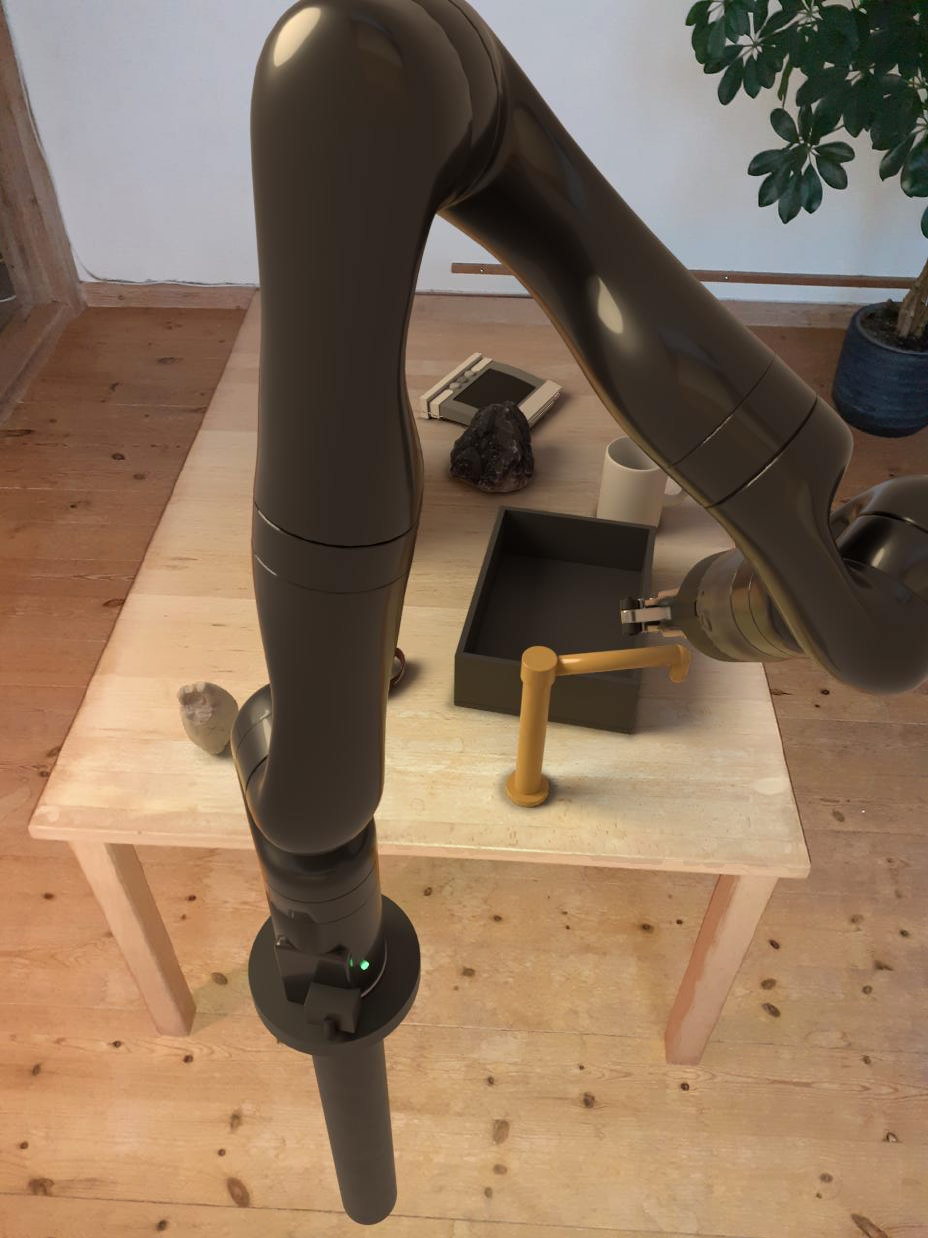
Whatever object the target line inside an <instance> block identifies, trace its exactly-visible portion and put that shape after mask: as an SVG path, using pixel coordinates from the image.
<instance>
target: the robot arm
mask: <svg viewBox="0 0 928 1238" xmlns="http://www.w3.org/2000/svg"><path fill="white" fill-rule="evenodd" d="M249 110H250V111H249V112H250V113H249V133H250V134H249V139H250V142H249V143H250V161H251V162H250V164H251V166H250V167H251V180H252V194H253V210H254V225H255V239H256V252H257V265H258V266H257V267H258V268H257V269H258V284H259V299H260V301H259V302H260V303H259V304H260V344H259V345H260V346H259V347H260V348H259V365H258V366H259V367H258V394H257V395H258V396H257V432H256V435H257V437H256V439H257V441H256V457H255V467H254V468H255V469H254V477H253V487H252V510H251V511H252V513H251V535H250V536H251V537H250V561H251V573H252V583H253V591H254V600H255V606H256V613H257V621H258V627H259V632H260V639H261V644H262V648H263V654H264V659H265V664H266V669H267V676H268V680H269V682H268V683H267V684H264V685H263V686H261V687H260V688H259V689H258V690H256V691H255V692H253V693H252V694H251V695H250V696H249V697H248V698H247V699H246V701H244V703H243V704H242V706H241V707H240V709H239V712H238V714H237V716H236V718H235V720H234V723H233V726H232V731H231V735H230V750H231V755H232V759H233V764H234V768H235V772H236V775H237V780H238V784H239V789H240V792H241V793H240V794H241V796H242V800H243V801H242V802H243V806H244V810H245V815H246V818H247V823H248V827H249V830H250V834H251V838H252V843H253V845H254V849H255V850H254V851H255V853H256V857H257V860H258V863H259V868H260V873H261V877H262V881H263V886H264V890H265V895H266V899H267V904H268V909H269V913H270V916H271V918H272V923H273V928H274V932H275V937H276V941H275V944H274V950H275V954H276V958H277V963H278V967H279V972H280V976H281V980H282V985H283V989H284V993H285V998H286V1000H287V1001H290V1002H294V1003H299V1004H304V1009H305V1014H306V1019H307V1023H310V1024H314V1025H319V1026H323V1027H324V1034H325V1037H326V1039H327V1040H329V1041H335V1040H336V1039H337V1038H338V1037H339V1035H340V1033H341V1031H347V1032H351V1033H354V1032H355V1029H356V1026H357V1022H358V1019H359V1015H360V1012H361V1009H362V1000H363V999H364V998H366V997H367V996H368V995H369V994H370V993H371V992H372V991H373V990H374V989H375V988H376V987H377V985H378V984H379V982H380V981H381V979H382V977H383V975H384V972H385V969H386V964H387V947H386V941H385V935H384V923H383V911H382V898H381V894H382V886H381V876H380V875H381V873H380V860H379V859H380V857H379V844H378V842H379V841H378V833H377V824H376V819H375V814H376V812H377V810H378V808H379V806H380V804H381V801H382V798H383V794H384V789H385V779H386V734H387V732H386V730H387V729H386V728H387V712H388V711H387V710H388V700H389V699H388V698H389V690H390V689H389V685H390V680H391V679H392V673H393V668H394V664H395V659H396V657H395V653H396V648H398V641H399V636H400V630H401V624H402V617H403V611H404V605H405V600H406V594H407V588H408V585H409V579H410V574H411V570H412V566H413V561H414V556H415V551H416V544H417V538H418V534H419V533H418V532H419V527H420V521H421V514H422V510H423V503H424V493H425V476H426V475H425V462H424V461H425V460H424V456H423V455H424V454H423V450H422V444H421V438H420V435H419V430H418V427H417V423H416V419H415V415H414V411H413V408H412V404H411V400H410V396H409V389H408V384H407V383H408V382H407V373H406V372H407V371H406V361H407V345H408V336H409V328H410V322H411V317H412V311H413V306H414V302H415V295H416V291H417V285H418V280H419V274H420V270H421V266H422V261H423V257H424V252H425V249H426V246H427V242H428V238H429V235H430V232H431V228H432V225H433V222H434V219H435V217H436V215H437V216H439V217H440V218H442V219H443V220H445V221H446V222H447V223H449V224H450V225H451V226H453V227H455V228H456V229H457V230H459V231H460V232H461V233H463V234H464V235H466V236H467V237H468V238H469V239H471V240H472V241H474V242H475V243H477V244H478V245H479V246H481V248H483V249H484V250H485V251H487V252H488V254H490V255H491V256H492V257H493V258H495V259H496V260H497V261H498V263H500V264H501V265H502V266H503V267H504V268H505V269H506V270H507V271H508V272H509V273H510V274H511V275H512V276H513V277H514V278H515V280H517V282H519V284H521V285H522V287H523V288H524V289H525V291H527V292H528V294H529V295H530V296H531V298H532V299H533V300H534V301H535V303H536V304H537V305H538V307H539V308H540V309H541V310H542V311H543V313H544V314H545V316H546V317H547V318H548V320H549V321H550V323H551V324H552V326H553V328H554V329H555V331H556V332H557V333H558V334H559V336H560V337H561V339H562V341H563V342H564V345H565V346H566V347H567V348H568V351H569V352H570V354H571V355H572V357H573V359H574V360H575V362H576V364H577V366H578V368H579V369H580V370H581V372H582V373H583V376H584V377H585V378H586V380H587V382H588V384H589V385H590V387H591V388H592V389H593V391H594V392H595V394H596V396H597V397H598V399H599V400H600V402H601V403H602V405H603V406H604V408H605V409H606V410H607V412H608V413H609V414H610V415H611V417H612V418H613V419H614V421H615V422H616V424H617V425H618V426H619V427H620V428H621V429H622V431H623V432H624V433H625V434H626V436H629V437H630V438H631V440H632V441H633V442H634V443H635V444H636V445H637V446H638V447H639V448H640V449H641V450H642V451H643V452H644V453H645V454H646V455H647V456H648V457H649V458H650V459H651V460H652V461H653V462H654V463H655V464H656V465H657V466H658V467H660V468H661V469H662V470H663V471H664V472H665V473H666V474H667V475H668V478H670V479H671V480H672V481H674V482H675V483H676V484H677V485H678V486H679V487H680V488H681V490H682V489H683V490H684V491H685V492H687V493H688V494H689V495H688V496H689V497H691V498H692V499H693V500H694V501H695V502H696V503H697V504H698V505H699V506H701V507H703V509H704V510H705V511H706V512H707V513H708V514H709V516H711V517H712V518H713V519H714V520H715V521H716V522H717V523H719V525H720V526H721V527H722V528H723V529H724V530H725V532H726V533H727V534H728V536H729V537H730V538H731V540H732V541H733V542H734V544H735V545H736V547H734V548H730V549H726V550H723V551H720V552H719V551H718V552H716V553H713V554H710V555H708V556H705V557H704V558H703V559H701V560H700V561H698V562H697V563H696V564H695V565H694V566H693V567H692V568H691V569H689V571H688V572H687V574H686V575H685V577H684V578H683V580H682V582H681V584H679V586H678V587H677V588H673V589H667V590H666V589H665V590H661V591H659V592H658V594H657V595H658V596H657V597H649V600H645V603H644V599H632V597H628V598H625V600H620V609H621V620H622V630H623V634H628V636H634V635H639V633H643V632H646V633H651V632H652V634H659V633H661V635H662V636H663V638H673V637H683V638H684V640H688V642H689V643H690V645H692V647H694V648H695V649H696V651H698V652H700V653H701V654H703V655H705V656H706V657H708V658H710V659H713V660H715V661H719V662H724V663H763V664H764V663H770V664H771V663H781V662H786V661H791V660H795V659H797V660H800V659H801V660H806V659H807V660H810V661H811V662H812V663H813V664H814V665H815V666H816V667H817V668H818V669H819V670H820V671H821V672H823V673H824V674H825V675H826V676H828V677H829V678H831V679H832V680H833V681H835V682H836V683H838V684H839V685H841V686H843V687H845V688H847V689H849V690H852V691H854V692H857V693H860V694H864V695H868V696H873V697H897V696H901V695H906V694H908V693H911V692H912V691H914V690H916V689H918V688H919V687H921V685H922V684H923V683H924V682H926V681H927V680H928V474H910V475H909V474H908V475H903V476H898V477H893V478H890V479H888V480H885V481H882V482H880V483H877V484H875V485H873V486H871V487H870V488H868V489H866V490H864V491H862V492H861V493H859V494H857V495H856V496H854V497H853V498H852V499H850V500H848V501H847V502H845V503H844V504H842V505H841V506H839V507H838V508H836V509H834V510H833V511H832V506H833V503H834V500H835V497H836V494H837V491H838V489H839V488H840V487H839V486H840V484H841V483H842V481H843V479H844V476H845V474H846V472H847V470H848V467H849V464H850V462H851V459H852V456H853V452H854V445H855V444H854V437H853V433H852V431H851V429H850V427H849V426H848V424H847V423H846V422H845V420H844V419H843V418H842V417H841V416H840V414H838V413H837V411H836V410H835V409H834V408H833V407H832V406H831V405H830V404H829V403H827V401H826V400H824V398H822V397H821V396H820V395H819V394H817V392H816V391H815V390H814V389H813V388H812V387H811V386H810V385H809V384H808V383H807V382H806V381H804V379H803V378H801V377H800V375H798V374H797V373H796V372H795V371H794V370H793V369H792V368H791V366H789V365H788V364H787V363H786V362H785V361H784V360H783V359H782V358H781V357H780V356H779V355H777V353H775V352H774V350H772V349H771V348H770V347H769V346H768V345H767V344H766V343H765V342H764V341H762V339H761V338H759V337H758V336H757V335H756V334H755V333H754V332H753V331H752V330H751V329H749V327H747V326H746V324H744V323H743V322H742V320H740V319H739V318H738V317H737V316H736V315H735V314H734V313H733V312H731V310H730V309H728V307H727V306H726V305H724V304H723V303H722V302H721V301H720V300H719V299H718V298H717V297H716V296H715V295H714V294H713V293H712V291H710V290H709V289H708V288H707V287H706V286H705V285H704V284H703V283H702V282H701V281H700V280H699V279H698V278H697V277H696V276H695V275H694V274H693V273H692V272H691V270H689V269H688V268H687V267H686V266H685V265H684V263H683V262H682V261H681V260H679V258H677V256H676V255H675V254H674V253H673V252H672V251H671V250H670V249H669V248H668V247H667V246H666V245H665V243H664V242H662V241H661V240H660V238H659V237H658V236H657V235H656V234H655V233H654V232H653V231H652V230H651V229H650V228H649V226H648V225H647V224H646V223H645V222H644V221H643V220H642V218H641V217H640V216H639V215H638V214H637V213H636V212H635V211H634V210H633V208H632V207H631V206H630V205H629V203H628V202H626V200H625V199H624V197H622V196H621V194H620V193H619V192H618V191H617V190H616V189H615V188H614V187H613V185H612V184H611V183H610V182H609V181H608V179H607V178H606V176H604V174H603V173H602V172H601V171H600V170H599V169H598V167H597V166H596V165H595V164H594V162H593V161H592V160H591V159H590V158H589V156H588V155H587V154H586V153H585V151H584V150H583V148H582V147H581V146H580V145H579V143H578V142H577V141H576V140H575V138H574V137H573V136H572V135H571V134H570V133H569V131H568V130H567V128H566V127H565V126H564V125H563V123H562V122H561V121H560V119H559V117H557V115H556V114H555V112H554V111H553V110H552V108H551V107H550V106H549V104H548V103H547V101H546V100H545V99H544V97H543V96H542V94H541V93H540V91H539V90H538V89H537V87H536V86H535V85H534V84H533V82H532V81H531V79H530V78H529V77H528V75H527V74H526V73H525V71H524V70H523V68H522V66H520V65H519V63H518V62H517V60H516V59H515V58H514V56H513V55H512V54H511V52H510V51H509V50H508V49H507V47H506V46H505V45H504V43H503V42H502V41H501V40H500V38H499V37H498V36H497V34H496V33H495V32H494V30H493V29H492V27H490V26H489V24H488V23H487V22H486V20H485V19H484V18H483V17H482V16H481V15H480V14H479V12H478V11H477V10H476V9H475V8H474V7H473V6H472V5H471V4H470V3H469V2H468V1H467V0H298V1H296V2H295V3H293V5H291V6H290V7H289V8H288V9H286V10H285V12H284V13H282V15H281V16H280V17H279V18H278V19H277V21H276V22H275V25H273V27H272V29H271V30H270V32H269V33H268V35H267V37H266V38H265V40H264V43H263V46H262V49H261V51H260V53H259V55H258V58H257V62H256V65H255V71H254V76H253V83H252V90H251V97H250V109H249Z"/></svg>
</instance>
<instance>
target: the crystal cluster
mask: <svg viewBox="0 0 928 1238" xmlns="http://www.w3.org/2000/svg"><path fill="white" fill-rule="evenodd" d="M531 443H532V436H531V434H530V429H529V423H528V421H527V418H526V416H525V415H524V413H523V412H522V411H521V410H520V409H519V407H518V406H517V405H516V404H515V403H514V402H510V401H506V402H504V403H503V404H502V405H501V404H491V405H490V406H488V407H483V408H480V409H479V410H478V411H477V412H476V413H475V415H474V416H473V418H472V420H471V422H470V425H468V427H467V428H466V429H465V430H464V431H463V432H462V434H461V436H460V437H458V438H457V439H456V440H454V443H453V446H452V449H451V450H450V454H449V457H450V460H449V465H448V469H449V473H450V476H451V477H452V478H454V479H458V480H460V481H462V482H465V483H466V484H467V485H470V486H473V487H475V488H477V489H480V490H481V491H483V492H487V493H493V492H494V493H495V492H496V493H497V492H498V493H509V492H512V491H517V490H521V489H523V488H524V487H525V486H527V485H528V483H529V482H530V481H531V480H532V479H533V478H534V474H535V467H536V465H535V464H536V463H535V457H534V453H533V448H532V444H531Z"/></svg>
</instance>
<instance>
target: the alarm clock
mask: <svg viewBox="0 0 928 1238" xmlns="http://www.w3.org/2000/svg"><path fill="white" fill-rule="evenodd" d="M560 390H561V392H560V393H559V394H558V395H557V396H556V397H554V396H555V395H556V394H557V393H558V392H559V391H560ZM562 390H563V386H562V385H560V384H558V383H555V382H554V381H552V380H550V379H547V380H546V381H545V380H544V379H542V378H540V377H538V376H536V375H535V374H533V373H530V372H527V371H525V370H523V369H521V368H518V367H515V366H512V365H510V364H507V363H503V362H500V361H496V360H493V358H489V357H483V353H480V352H474V353H473V354H471V355H470V356H469V357H468V358H466V360H464V361H463V362H462V363H460V364H459V365H458V366H457V367H455V369H453V370H452V371H451V372H450V373H448V374H447V375H446V376H445V377H444V378H442V379H441V380H440V381H439V382H437V383H436V384H435V385H434V386H432V387H431V388H430V389H428V390H427V391H426V392H425V393H424V394H422V395H421V396H420V397H419V407H420V416H421V418H422V419H425V420H429V419H431V418H436V419H442V418H441V417H436V416H433V415H431V414H429V413H428V412H430V413H433V414H434V415H438V416H443V417H444V418H443V419H445V418H448V419H447V420H449V419H450V421H454V422H457V423H459V424H462V425H467V426H469V425H470V422H471V420H472V418H473V416H474V415H475V413H476V412H477V411H478V410H479V409H480V408H483V407H488V406H490V405H491V404H501V405H502V404H503V403H504V402H506V401H510V402H514V403H515V404H516V405H517V406H518V407H519V409H520V410H521V411H522V412H523V413H524V415H525V416H526V418H527V421H528V423H529V430H530V429H531V428H532V427H533V426H534V425H535V424H536V423H537V422H538V421H539V420H540V419H542V417H543V416H544V415H546V413H548V412H549V410H551V408H553V406H554V405H555V402H556V401H557V400H558V399H559V398H560V396H561V393H562ZM554 400H555V401H554ZM553 401H554V402H553ZM552 402H553V403H552ZM551 403H552V404H551ZM550 404H551V405H550ZM549 405H550V406H549ZM548 406H549V407H548ZM547 407H548V408H547ZM546 408H547V409H546ZM545 409H546V410H545ZM544 410H545V411H544ZM421 411H424V412H426V413H428V414H426V413H423V412H421ZM543 411H544V412H543ZM542 412H543V413H542ZM541 413H542V414H541ZM540 414H541V415H540ZM539 415H540V416H539ZM538 416H539V417H538ZM537 417H538V418H537ZM536 418H537V419H536ZM535 419H536V420H535ZM534 420H535V421H534ZM533 421H534V422H533ZM532 422H533V423H532Z"/></svg>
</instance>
